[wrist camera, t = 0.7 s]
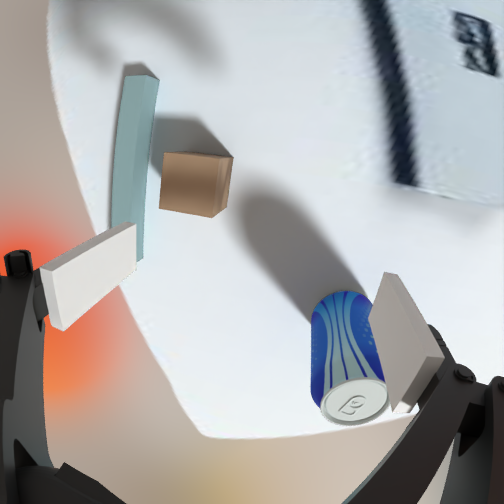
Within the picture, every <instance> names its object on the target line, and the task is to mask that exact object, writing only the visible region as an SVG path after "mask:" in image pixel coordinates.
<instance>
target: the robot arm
mask: <svg viewBox="0 0 504 504" xmlns="http://www.w3.org/2000/svg"><path fill="white" fill-rule="evenodd" d="M4 261H5V267H6V272H7V276H1V275H0V504H126V503H125V502H123V501H122V500H121V499H119V498H118V497H117V496H115V495H114V494H113V493H111V492H110V491H109V490H108V489H106V488H105V487H104V486H103V485H101V484H100V483H99V482H98V481H96V480H94V479H92V478H90V477H89V476H87V475H85V474H83V473H81V472H80V471H78V470H76V469H75V468H73V467H71V466H70V465H68V464H66V463H65V462H64V463H63V465H62V466H61V468H60V469H58V468H54V466H53V464H52V462H51V460H50V457H49V454H48V447H47V440H46V429H45V417H44V399H43V353H44V335H45V322H44V317H45V316H47V315H48V314H49V317H50V322H51V325H52V326H53V327H55V328H57V329H60V330H62V331H65V330H66V329H67V328H68V327H69V326H70V325H71V324H73V323H74V322H75V321H76V320H77V319H78V318H79V317H80V316H82V315H83V314H84V313H85V312H86V311H88V310H89V309H90V308H91V307H92V306H93V305H95V304H96V303H97V302H98V301H99V300H100V299H102V298H103V297H104V296H105V295H106V294H107V293H109V292H110V291H111V290H112V289H114V288H115V287H116V286H117V285H118V284H120V283H121V282H122V281H123V280H124V279H126V278H127V277H128V276H129V275H131V274H132V273H133V272H134V271H136V270H137V265H136V224H135V223H130V222H123V223H121V224H119V225H117V226H115V227H113V228H111V229H109V230H107V231H105V232H103V233H101V234H99V235H97V236H95V237H93V238H92V239H90V240H88V241H86V242H84V243H82V244H80V245H78V246H77V247H75V248H73V249H71V250H69V251H67V252H65V253H64V254H62V255H60V256H58V257H57V258H55V259H53V260H51V261H50V262H48V263H46V264H44V265H43V266H41V267H39V268H38V269H36V270H34V271H33V266H32V259H31V253H30V252H29V251H28V250H15V251H12V252H10V253H8V254H6V255H5V256H4ZM368 320H369V323H370V326H371V330H372V333H373V337H374V340H375V344H376V348H377V351H378V355H379V359H380V363H381V366H382V370H383V374H384V378H385V382H386V387H387V391H388V395H389V399H390V404H391V408H392V413H410V412H411V410H412V409H413V408H414V406H415V405H416V403H418V406H419V409H420V410H419V412H418V413H417V414H416V416H415V417H414V418H413V420H412V421H411V422H410V424H409V425H408V426H407V428H406V430H405V431H404V433H403V434H402V435H401V437H400V438H399V439H398V441H397V442H396V443H395V444H394V446H393V447H392V448H391V450H390V451H389V452H388V453H387V455H386V456H385V457H384V458H383V460H382V461H381V462H380V463H379V464H378V465H377V467H376V468H375V469H374V470H373V471H372V472H371V473H370V475H369V476H368V477H367V478H366V479H365V480H364V481H363V482H362V483H361V484H360V485H359V486H358V488H357V489H356V490H355V491H354V492H353V493H352V494H351V495H350V496H349V497H348V498H347V499H346V500H345V501H344V502H343V503H342V504H417V503H418V501H419V500H420V498H421V497H422V495H423V494H424V492H425V490H426V489H427V487H428V486H429V484H430V482H431V481H432V479H433V477H434V476H435V474H436V472H437V470H438V468H439V467H440V465H441V463H442V461H443V459H444V457H445V455H446V453H447V451H448V449H449V447H450V445H451V443H452V441H453V439H454V444H453V451H452V456H451V461H450V465H449V470H448V474H447V479H446V483H445V487H444V490H443V494H442V498H441V501H440V504H504V377H501V376H496V377H494V378H493V379H492V381H491V382H490V383H489V385H485V384H481V383H478V382H476V377H475V375H474V373H473V372H472V371H471V370H470V369H469V368H467V367H466V366H463V365H461V364H456V362H455V360H454V358H453V357H452V355H451V353H450V351H449V349H448V347H446V344H445V342H444V341H443V338H442V337H441V335H440V333H439V332H438V331H437V330H436V329H435V328H434V327H433V326H432V325H429V324H427V323H426V321H425V320H424V318H423V316H422V314H421V313H420V311H419V309H418V307H417V306H416V304H415V302H414V301H413V299H412V297H411V296H410V294H409V292H408V291H407V289H406V287H405V286H404V284H403V283H402V281H401V279H400V278H399V276H398V275H397V274H392V273H387V272H384V274H383V277H382V280H381V283H380V286H379V289H378V292H377V295H376V298H375V301H374V303H373V306H372V309H371V312H370V314H369V317H368ZM454 437H455V438H454Z"/></svg>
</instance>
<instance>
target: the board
mask: <svg viewBox="0 0 504 504" xmlns="http://www.w3.org/2000/svg"><path fill="white" fill-rule="evenodd" d="M159 81H160V80H158V79H155V78H153V77H150V76H148V75H135V76H125V81H124V87H123V92H122V99H121V105H120V112H119V119H118V127H117V136H116V146H115V157H114V170H113V186H112V218H111V228H113V227H115V226H117V225H119V224H121V223H123V222H130V223H135V224H136V263H137V262H138V261H140V260H141V259H142V258H143V234H144V211H145V195H146V181H147V170H148V159H149V150H150V141H151V133H152V125H153V118H154V111H155V104H156V98H157V92H158V86H159Z"/></svg>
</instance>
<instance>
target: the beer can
mask: <svg viewBox="0 0 504 504" xmlns="http://www.w3.org/2000/svg"><path fill="white" fill-rule="evenodd" d="M372 306H373V305H372V303H371V302H370V301H369V299H368V298H366V297H365V296H364V295H362V294H360V293H357V292H354V291H339V292H335V293H333V294H330V295H328V296H327V297H325V298H324V299H322V300H321V301H320V302H319V303H318V304H317V306H316V307H315V309H314V311H313V314H312V318H311V395H312V398H313V400H314V402H315V403H316V405H317V406H318V407H319V408H320V410H321V413H322V415H323V416H324V417H325V418H326V419H327V420H328V421H330V422H331V423H334V424H337V425H341V426H356V425H361V424H365V423H368V422H370V421H373V420H375V419H376V418H378V417H379V416H381V415H382V414H383V413H384V412H385V411H386V410H387V409H388V407H389V406H390V399H389V395H388V391H387V387H386V382H385V378H384V374H383V370H382V366H381V363H380V359H379V355H378V351H377V348H376V344H375V340H374V337H373V333H372V330H371V326H370V323H369V320H368V317H369V314H370V312H371V309H372Z"/></svg>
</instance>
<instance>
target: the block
mask: <svg viewBox="0 0 504 504" xmlns="http://www.w3.org/2000/svg"><path fill="white" fill-rule="evenodd" d="M233 158H234V157H227V156H219V155H212V154H204V153H195V152H186V151H184V152H164V158H163V167H162V178H161V189H160V201H159V209H164V210H170V211H176V212H181V213H187V214H193V215H198V216H204V217H209V218H213V217H214V216H215V215H217V214H218V213H219V212H221V211H222V210H223V209H225V208H226V207H227V200H228V193H229V185H230V178H231V171H232V164H233Z"/></svg>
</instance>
